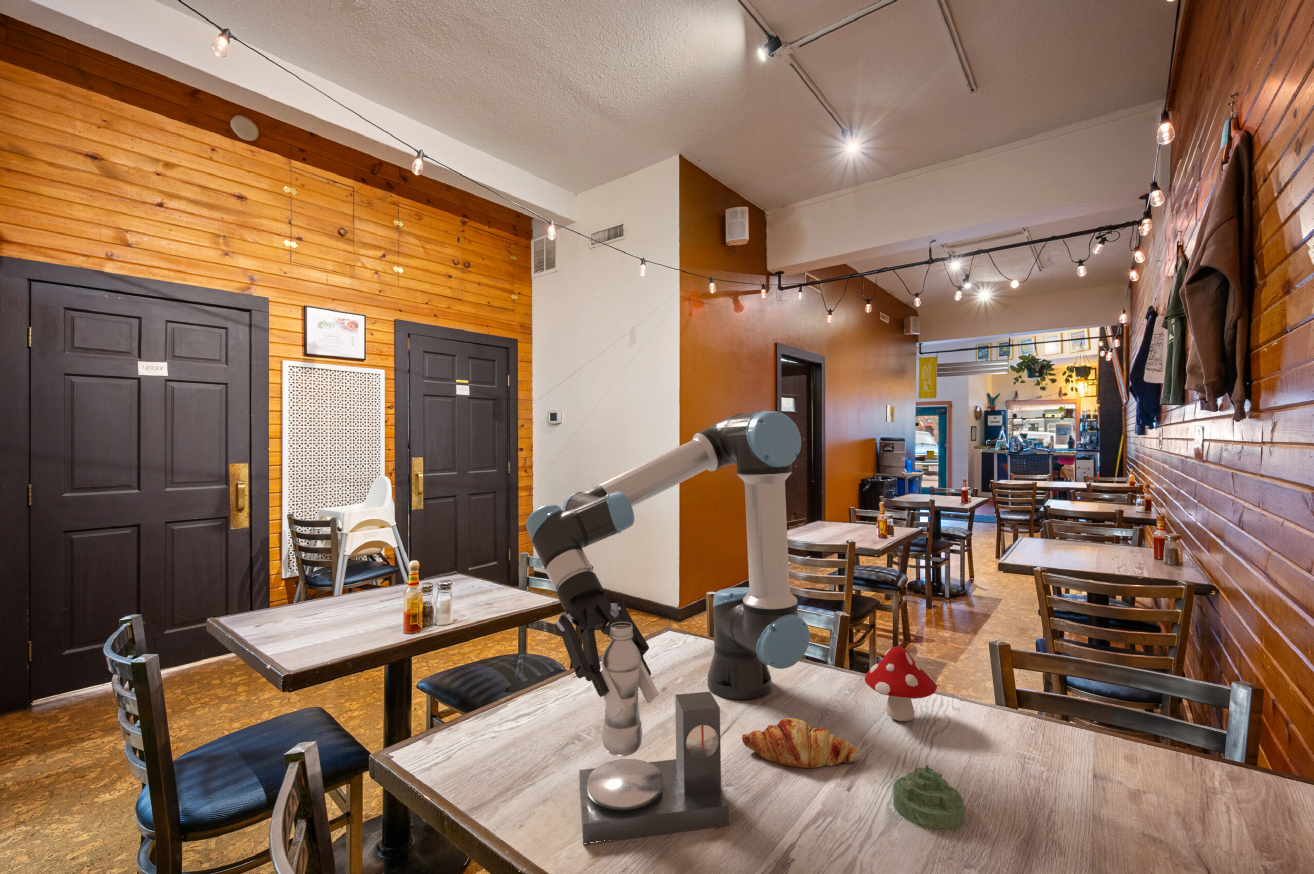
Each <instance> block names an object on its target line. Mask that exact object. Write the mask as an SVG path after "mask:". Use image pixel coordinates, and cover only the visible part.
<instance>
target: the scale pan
mask: <svg viewBox="0 0 1314 874" xmlns="http://www.w3.org/2000/svg"><path fill="white" fill-rule="evenodd" d="M648 762H649V761H646V760H642V759H637V758H620V759H614V760H610V761H607V762H605V763H602V764H600V765H599V766H597V767H595V768H596V769H594V770H593V771H592V772H591V774H590V775H589V777H588V780H587V791H588V795H589V797H590V798H591V799H592V800H593V801H594V802H595V803H596V804H598V805H600V806H602V807H605V808H608V809H614V810H630V809H636V808H640V807H643V806H645V805H647V804H649V803H651V802H653V801H654V800H655V799H656V798H657V797H658V796H659V795H660V793H661V791H662V788H663V778H662V774H661V772H660V771H659V769H658V768H657V767H655V766H654V765H652V764H650V763H648Z"/></svg>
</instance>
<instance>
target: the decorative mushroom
mask: <svg viewBox="0 0 1314 874" xmlns="http://www.w3.org/2000/svg"><path fill="white" fill-rule="evenodd" d="M864 682H865V683H866V684H867V686H869V687H870V688H871V689H872V690H873V691H875V692H876V693H878V694H880V695H882V696H883V695H885V696H888V698H887V702H886V704H885V705H886V706H885V711H886V715H888V716H889V717H890V718H891V719H893V720H894V721H899V722H908V721H911V720H912V719H914V718H915V708H914V704H913V702H912V700H915V699H917V700H919V699H924V698H927V697H930V696H932V695H934V694H935V693H936V692H937V688H938V685H937V683H936V681H935V679H933V677H932V676H930V675H929V674H927V673H926V672H925V671H924V669H922V668H921V666H920V665H919V664H918V663H917V662H916V661H915V660H914V658H913V657H912V655H911V654H910V653H909V652H908V650H906V648H904V647H901V646H894V647H891V648H888V649H887V650H886V652H885V654H884V657H882V659H881V660H879V661H878V662H877V663H875V664H874V665H873V666H872V667H871V668H870V669H869V670H868V671H867V672H866V673H865V676H864Z"/></svg>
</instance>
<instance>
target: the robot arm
mask: <svg viewBox="0 0 1314 874" xmlns="http://www.w3.org/2000/svg"><path fill="white" fill-rule="evenodd" d="M801 448H802V437H801V433H800V429H799V428H798V426H797V424H796V423H795V421H793V420H792V419H791V417H789V416H788V415H787V414H785V413H783V412H779V411H776V410H775V411H773V410H760V411H754V412H747V413H736V414H733V415H730V416H727V417H725V418H723V419H722V420H719V421H718V422H716V423H714V424H712V425H710V426H708V427H707V428H705V429H703V430H701V431H699V432H696V433H695V434H694V435H693V437H692V439H691V440H690V441H688V442H686V443H684V444H681V445H679V446H677V447H675V448H674V449H671V450H669V451H667V452H665V453H663V454H660V455H659V456H656V457H655V458H652V459H650V460H648V461H646V462H644V463H642V464H640V465H638V466H636V467H634V468H631V469H629V470H628V471H625V472H623V473H621V474H619V475H616V476H614V477H611V478H610V479H609V480H606V481H604V482H602V483H600V484H598V485H596V486H594V487H592V488H589V489H587V490H585V491H577V492H574V493H571V494H570V495H569V496H567V497H566V499H565V501H564V502H563V505H562V508H561V507H560V506H559V505H557V504H551V505H548V504H547V505H543V506H540V507H538V508H536V509H535V510H534V511H532V512H531V514H530V515H529V516H528V517H527V520H526V522H525V524H526V525H525V528H526V530H527V533H528V535H529V538H530V541H531V543H532V546H533V548H534V550H535V552H536V554H537V556H538V558H539V560H540V562H541V564H542V566H543V568H544V570H545V572H546V575H547V577H548V579H549V581H550V584H551V585H552V587H553V590H554V591H555V592H556V596H557V598H558V600H559V602H560V604H561V607H562V609H563V610H564V612H565V613H566V614H561V615H560V617H559V618H558V619H557V621H556V622H555V623H554V628H555V629H556V631H557V633H559V635H560V636H561V638H562V641H563V643H564V647H565V649H566V651H567V654H568V656H569V661H570V663H571V665H572V667H573V668H572V669H573V671H574V672H575V676H576V677H577V678H578V679H582V678H585V680H586V681H587V682H592V684H593V686H594V687H593V688H594V689H595V691H596V693H597V696H599V697H600V698H601V697H602V698H603V699H604V701H605V704H606V703H607V706H608V708H609V710H610V712H611V714H612V716H613V718H615V717H617V716H618V715H619V714H620V713H621V712H622V711H623V710H624V709H625V707H624V705H623V703H622V701H621V698H620V696H619V694H618V692H617V690H616V688H615V686H614V684H613V682H612V680H611V678H610V676H609V674H608V672H607V670H606V669H604V670H603V669H602V670H601V667H602V666H601V663H600V657H599V656H600V655H599V650H598V646H597V638H596V633H595V632H596V631H600V632H601V633H602V634H603V635H606V636H607V637H608V638H609V639H610V625H611V624H613V623H616V622H629V623H631V624H632V632H633V638H631V639H632V641H633V642H634V644H635V645H636V647H637V648H638V650H639V652H640V655H641V667H640V675H639V690H640V692H641V694H642V695H643V697H644V699H645V701H646V703H647V704H650V703H652V702H653V700H654V699H656V698H657V697H658V696H659V695H660V693H659V691H658V689H657V687H656V685H655V683H654V682H653V679H652V678H651V676H652V673H651V670H650V667H649V666H648V664H647V662H646V660H645V658H644V655H645V654H646V653H647V652H648V651H649V650H650V646H649V644H648V643H647V641H646V640H645V638H644V636H643V635H642V633H641V631H640V630H639V628H638V627H637V625H636V623H635V622H634V620H633V618H632V617H631V615H630V614H629V611H628V609H627V606H626V603H625V601H624V600H622V599H621V600H619V601H618V602H615V603H614V602H610V600H609V599H608V598H607V597H606V596H605V594H604V588H603V586H602V584H601V582H600V581H599V578H598V576H597V574H596V573H595V572H594V568H593V567H592V565H591V563H590V561H589V559H588V557H587V556H586V553H585V552H584V550H583V549H584V548H586V547H588V546H590V545H593V544H596V543H597V542H600V541H602V540H606V539H608V538H609V537H612V536H615V535H617V534H621V533H622V532H624V531H625V530H627V529H629V528H630V527H632V526H633V525H634V523H635V513H634V509H633V507H635V506H636V505H637V506H638V505H639V504H642V503H644V501H647V500H648V499H650V498H653V497H654V496H657V495H659V494H661V493H663V492H665V491H667V490H669V489H670V488H673V487H675V486H677V485H679V484H681V483H683V482H685V481H687V480H689V479H691V478H693V477H694V476H697V475H699V474H701V473H702V472H704V471H709V472H714V471H716V470H718V469H721V468H723V467H726V466H732V465H736V473H737V474H736V475H737V476H738V477H739V478H740V479H741V480H742V481H743V482H744V496H745V497H744V498H745V517H746V518H745V519H746V521H745V522H746V539H747V540H746V542H747V545H746V546H747V562H748V563H747V566H748V568H747V569H748V586H747V587H746V586H744V587H729V588H723V589H720V590H717V591H715V593H714V595H713V602H712V604H713V605H712V608H713V639H714V640H713V641H714V642H713V644H714V647H713V648H714V653H713V655H712V660H711V662H710V666H709V670H708V673H707V688H708V690H709V691H710V692H712V693H713V694H715V695H717V696H719V697H721V698H725V699H731V700H739V701H741V700H742V701H744V700H748V701H749V700H755V699H760V698H763V697H765V696H767V695H768V694H770V693H771V691H772V689H773V688H772V684H773V683H772V682H773V680H772V676H771V673H770V669H769V667H771V668H774V669H778V670H779V669H780V670H781V669H788V668H791V667H794V666H795V664H797V663H798V662H799V661H800V660H801V658H802V657H803V656H804V655H805V654H806V652H807V650H808V648H809V645H810V641H811V640H810V638H811V637H810V636H811V633H810V628H809V626H808V624H807V623H806V621H804V619H803V618H802V617H801V616H799V606H798V598H797V597H796V596H795V595H794V594H793V593H792V592H790V591H791V589H790V570H789V569H790V568H789V547H788V526H787V525H788V521H787V504H786V503H787V500H786V480H787V479H788V478H789V476H790V475H792V474H793V473H792V464H793V462H795V461H796V460H797V456H798V455H799V454H800V452H801ZM575 626H576V627H577V628H578V631H579V632H578V633H579V636H578V634H577V632H576V628H575ZM580 640H581V641H580ZM768 666H769V667H768Z"/></svg>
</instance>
